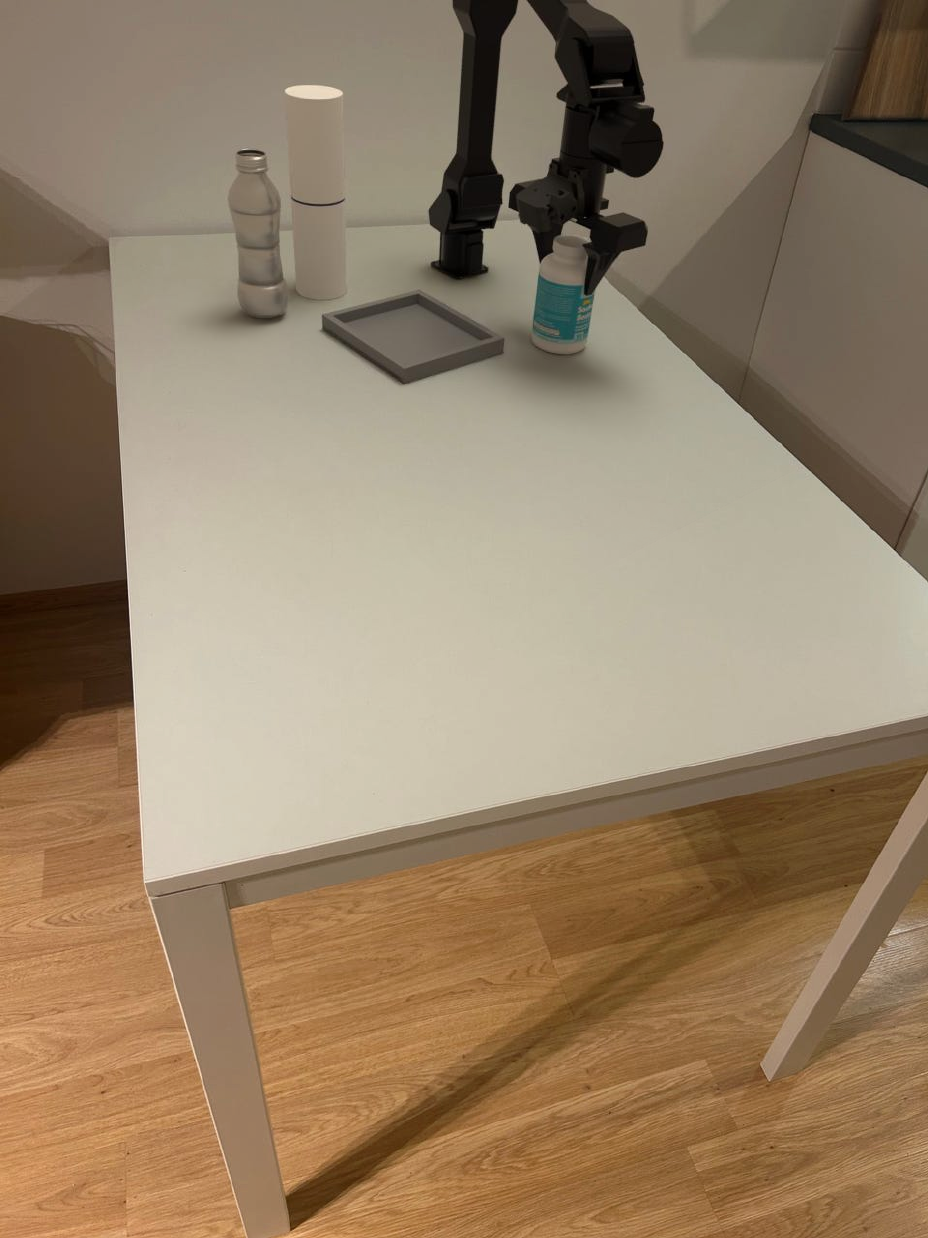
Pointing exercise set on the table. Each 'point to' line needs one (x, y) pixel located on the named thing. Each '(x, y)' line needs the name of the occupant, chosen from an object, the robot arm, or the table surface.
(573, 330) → the pill bottle
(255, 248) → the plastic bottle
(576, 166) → the robot arm
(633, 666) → the table surface
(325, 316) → the tray
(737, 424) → the table surface
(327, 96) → the cylindrical container
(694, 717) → the table surface
